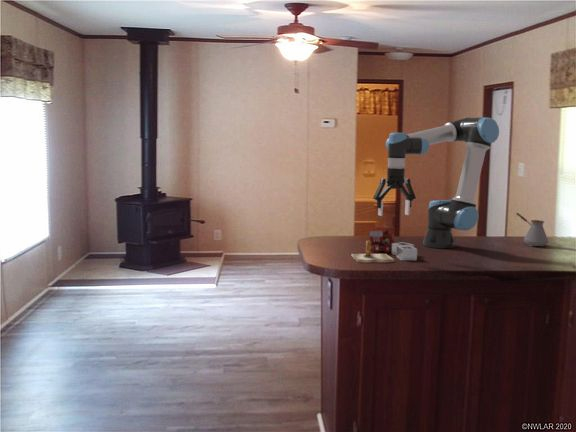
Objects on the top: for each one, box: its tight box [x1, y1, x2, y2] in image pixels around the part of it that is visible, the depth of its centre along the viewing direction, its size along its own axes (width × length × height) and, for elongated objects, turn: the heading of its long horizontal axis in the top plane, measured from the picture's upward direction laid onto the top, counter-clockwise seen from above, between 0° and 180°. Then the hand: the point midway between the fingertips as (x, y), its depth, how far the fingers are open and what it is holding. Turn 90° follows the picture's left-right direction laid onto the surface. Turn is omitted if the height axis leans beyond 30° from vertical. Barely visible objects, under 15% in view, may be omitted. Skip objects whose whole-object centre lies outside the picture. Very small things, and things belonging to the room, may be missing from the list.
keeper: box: [350, 240, 395, 263], centre depth 262 cm, size 16×12×8 cm
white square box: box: [395, 246, 418, 261], centre depth 265 cm, size 7×7×5 cm
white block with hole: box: [391, 241, 415, 256], centre depth 274 cm, size 7×7×5 cm
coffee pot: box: [515, 212, 549, 247], centre depth 308 cm, size 21×12×15 cm, turn 21°
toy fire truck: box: [367, 229, 395, 254], centre depth 279 cm, size 7×12×10 cm, turn 96°
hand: (393, 215), depth 266 cm, fingers open, 13 cm apart
